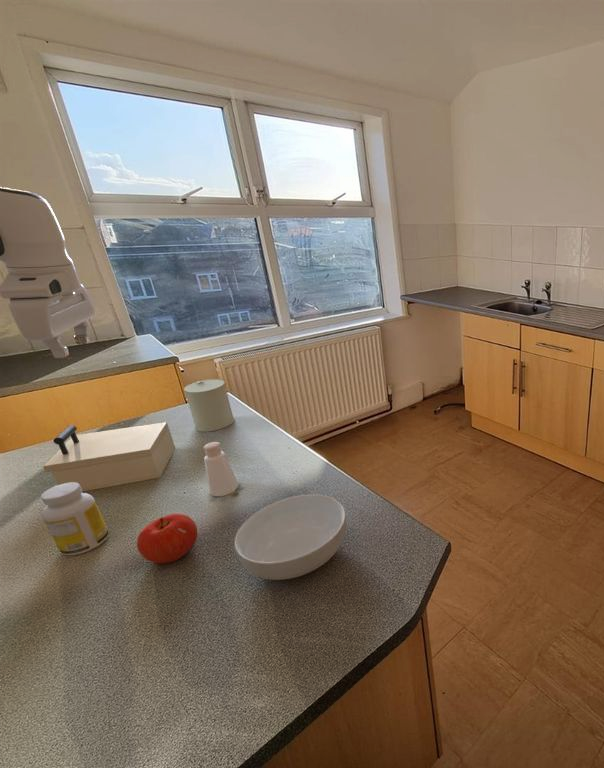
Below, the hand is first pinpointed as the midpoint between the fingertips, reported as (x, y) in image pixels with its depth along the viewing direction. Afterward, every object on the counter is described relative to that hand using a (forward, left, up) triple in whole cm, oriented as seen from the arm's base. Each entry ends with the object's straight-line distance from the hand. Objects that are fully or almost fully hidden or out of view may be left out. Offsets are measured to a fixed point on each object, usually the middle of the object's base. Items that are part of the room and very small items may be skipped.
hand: (73, 349), depth 87 cm
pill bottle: (+3, -26, -29) cm, 39 cm away
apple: (+18, -35, -29) cm, 49 cm away
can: (+16, +18, -29) cm, 37 cm away
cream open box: (+1, 0, -29) cm, 29 cm away
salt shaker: (+23, -17, -29) cm, 41 cm away
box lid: (0, 0, -23) cm, 23 cm away
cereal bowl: (+38, -44, -29) cm, 65 cm away
